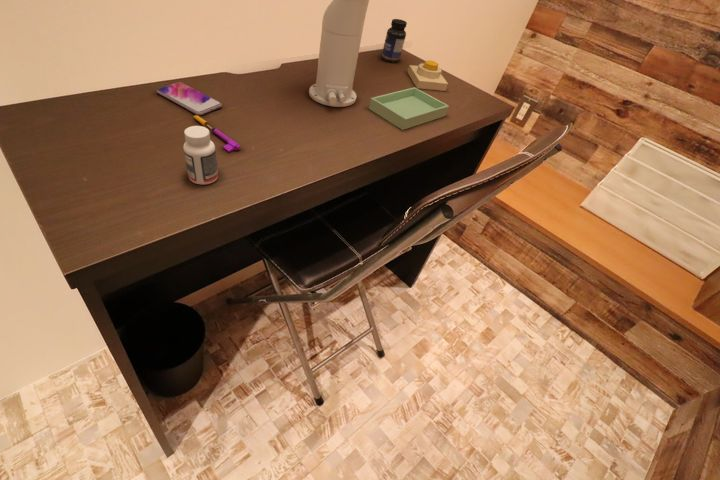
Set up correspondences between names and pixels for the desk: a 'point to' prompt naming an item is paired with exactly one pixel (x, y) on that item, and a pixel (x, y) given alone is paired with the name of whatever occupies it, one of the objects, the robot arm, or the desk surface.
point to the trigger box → (427, 78)
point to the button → (430, 65)
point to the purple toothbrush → (231, 143)
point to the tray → (408, 107)
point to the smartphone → (189, 98)
